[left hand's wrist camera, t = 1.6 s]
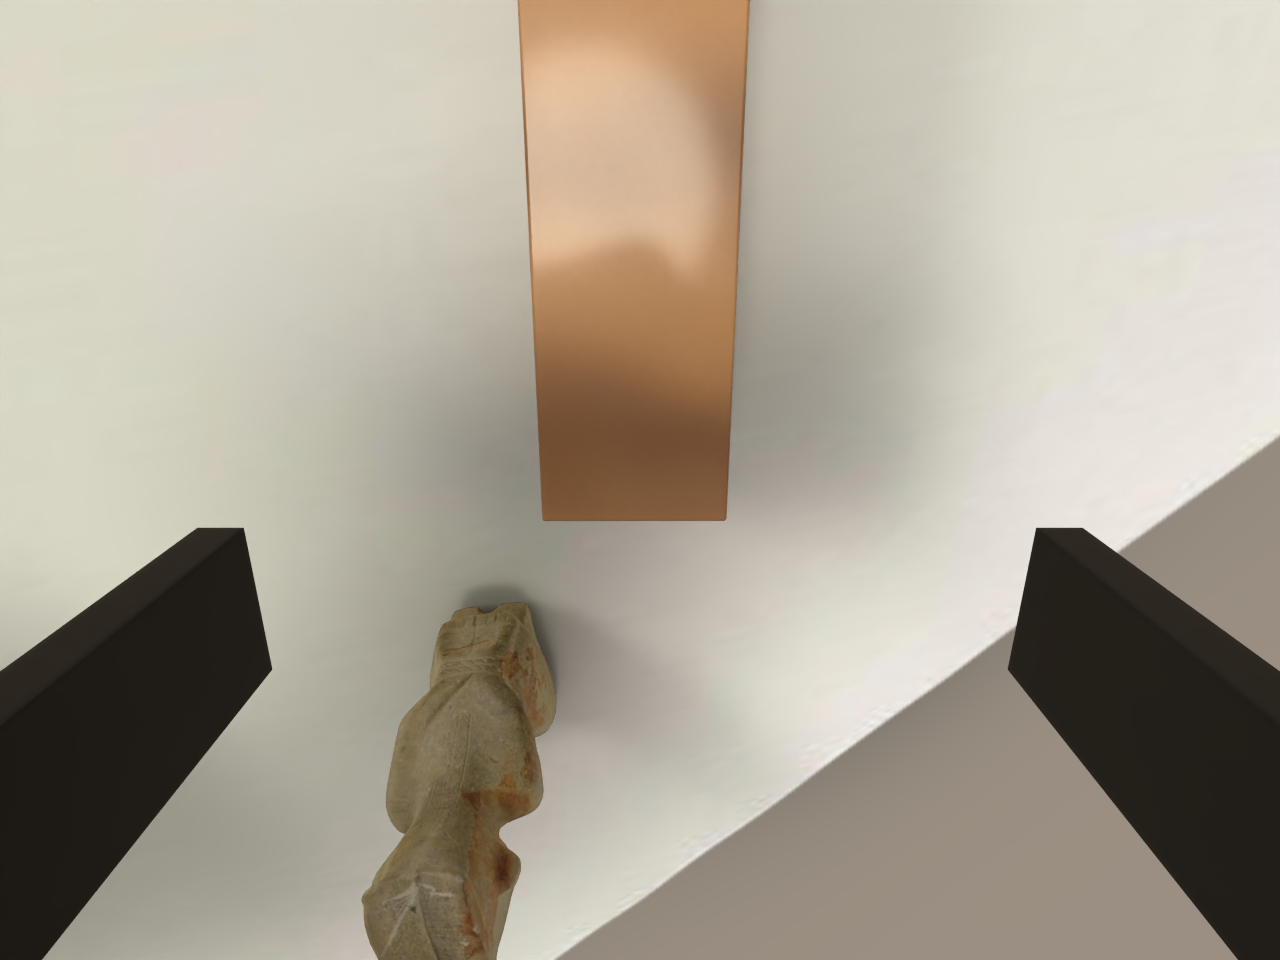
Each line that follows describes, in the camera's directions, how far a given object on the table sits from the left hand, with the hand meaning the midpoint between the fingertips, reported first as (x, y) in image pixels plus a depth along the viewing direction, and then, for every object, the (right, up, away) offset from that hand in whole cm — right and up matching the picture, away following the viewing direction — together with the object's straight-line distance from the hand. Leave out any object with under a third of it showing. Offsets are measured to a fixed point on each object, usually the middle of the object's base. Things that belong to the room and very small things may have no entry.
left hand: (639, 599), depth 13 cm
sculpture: (-6, -6, +23) cm, 25 cm away
